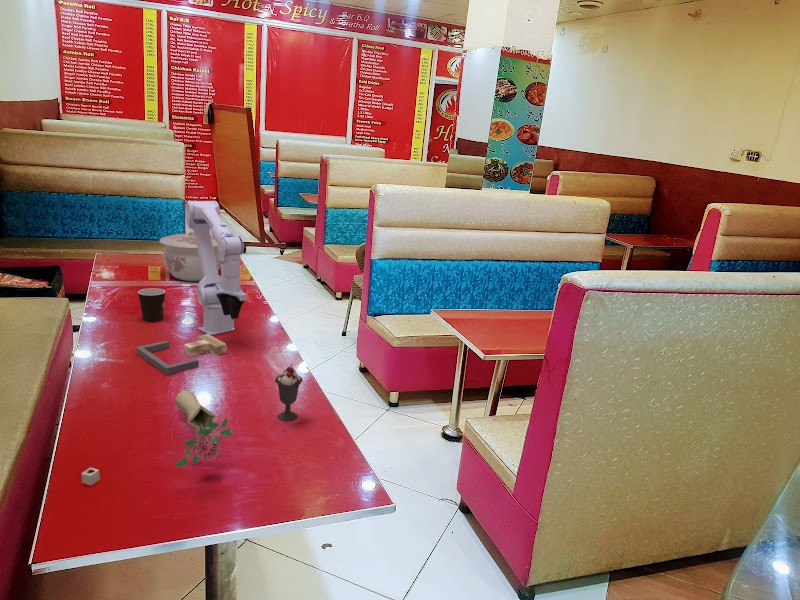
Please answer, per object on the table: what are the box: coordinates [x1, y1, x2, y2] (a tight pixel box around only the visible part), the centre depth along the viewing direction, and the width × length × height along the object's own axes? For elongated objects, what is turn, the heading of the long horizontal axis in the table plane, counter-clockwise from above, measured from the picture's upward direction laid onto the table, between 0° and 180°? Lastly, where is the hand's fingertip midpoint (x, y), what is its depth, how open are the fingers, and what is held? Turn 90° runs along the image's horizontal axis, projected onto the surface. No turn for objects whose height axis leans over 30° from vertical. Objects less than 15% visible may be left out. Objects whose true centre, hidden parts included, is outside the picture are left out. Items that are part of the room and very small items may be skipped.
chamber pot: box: [159, 230, 221, 282], centre depth 249 cm, size 28×28×21 cm
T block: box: [183, 333, 227, 358], centre depth 175 cm, size 10×11×3 cm
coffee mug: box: [137, 287, 166, 323], centre depth 198 cm, size 12×9×10 cm
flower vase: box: [174, 389, 234, 468], centre depth 125 cm, size 12×12×35 cm
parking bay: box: [135, 340, 200, 376], centre depth 167 cm, size 10×19×2 cm, turn 48°
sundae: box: [274, 363, 304, 422], centre depth 139 cm, size 7×7×15 cm
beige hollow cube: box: [81, 467, 101, 486], centre depth 111 cm, size 2×2×2 cm
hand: (230, 316), depth 180 cm, fingers open, 4 cm apart
